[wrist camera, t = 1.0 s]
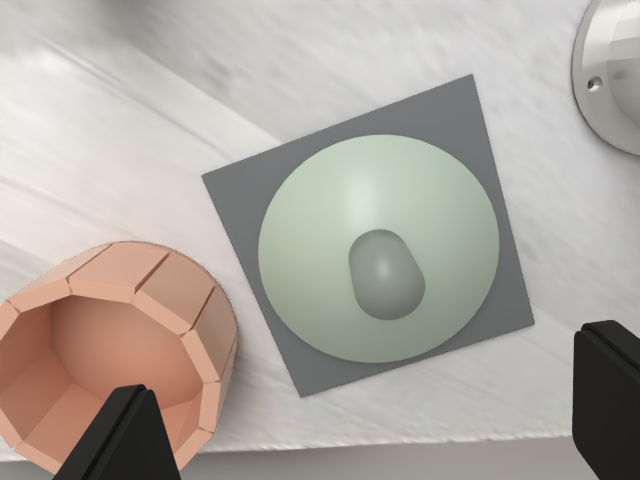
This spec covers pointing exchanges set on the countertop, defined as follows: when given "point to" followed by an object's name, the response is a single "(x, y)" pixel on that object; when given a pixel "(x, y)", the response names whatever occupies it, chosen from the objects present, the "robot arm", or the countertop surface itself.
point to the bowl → (114, 348)
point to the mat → (395, 119)
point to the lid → (378, 248)
